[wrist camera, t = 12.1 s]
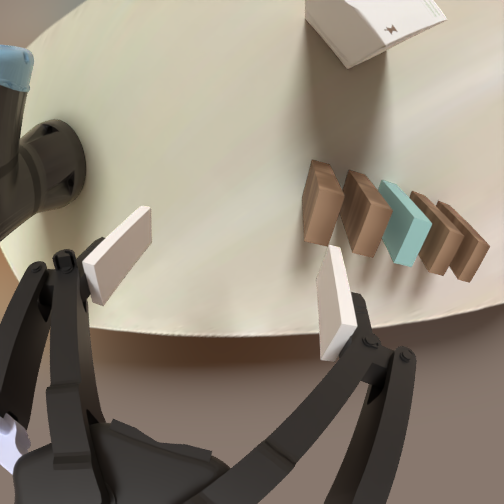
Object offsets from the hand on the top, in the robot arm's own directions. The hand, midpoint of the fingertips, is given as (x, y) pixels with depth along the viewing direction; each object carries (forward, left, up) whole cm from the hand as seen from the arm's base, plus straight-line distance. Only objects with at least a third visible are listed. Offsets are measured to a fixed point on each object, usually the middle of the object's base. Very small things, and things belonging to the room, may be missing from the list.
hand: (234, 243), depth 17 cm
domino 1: (+6, -3, -18) cm, 19 cm away
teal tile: (+14, -7, -18) cm, 24 cm away
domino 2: (+10, -5, -18) cm, 21 cm away
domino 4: (+22, -12, -18) cm, 31 cm away
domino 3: (+18, -10, -18) cm, 27 cm away
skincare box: (+14, +14, -18) cm, 27 cm away
